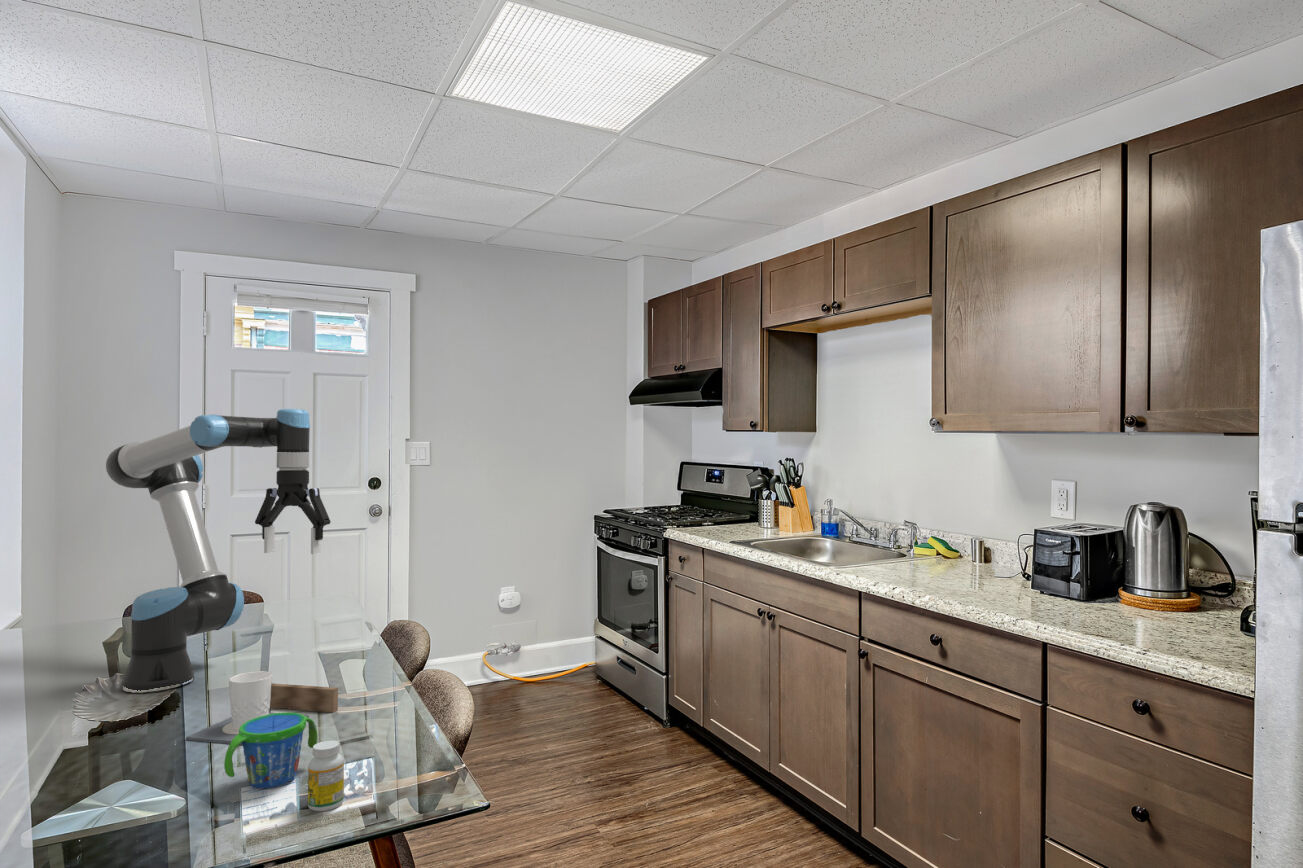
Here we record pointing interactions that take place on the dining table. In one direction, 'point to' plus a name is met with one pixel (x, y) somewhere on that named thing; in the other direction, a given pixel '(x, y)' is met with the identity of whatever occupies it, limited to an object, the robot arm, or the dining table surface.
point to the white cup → (249, 696)
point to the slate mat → (218, 733)
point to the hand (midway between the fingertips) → (292, 552)
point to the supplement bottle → (326, 777)
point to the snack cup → (271, 748)
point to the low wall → (304, 697)
